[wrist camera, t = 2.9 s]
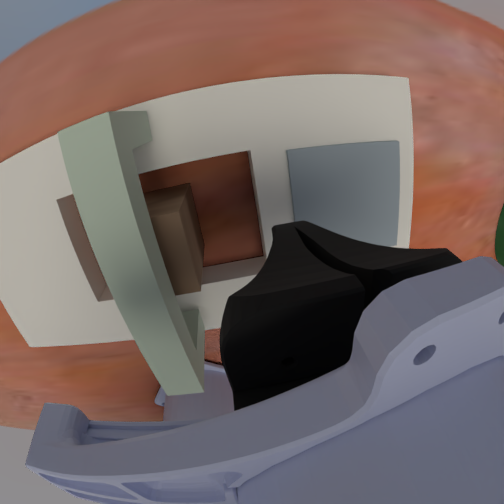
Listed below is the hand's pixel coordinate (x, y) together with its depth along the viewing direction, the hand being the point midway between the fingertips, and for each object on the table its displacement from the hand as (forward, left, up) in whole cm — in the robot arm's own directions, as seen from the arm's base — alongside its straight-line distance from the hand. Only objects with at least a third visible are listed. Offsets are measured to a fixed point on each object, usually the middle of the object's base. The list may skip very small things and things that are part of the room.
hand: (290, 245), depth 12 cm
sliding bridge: (+5, +4, -4) cm, 7 cm away
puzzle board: (+5, +4, -6) cm, 8 cm away
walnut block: (+5, +4, -6) cm, 9 cm away
